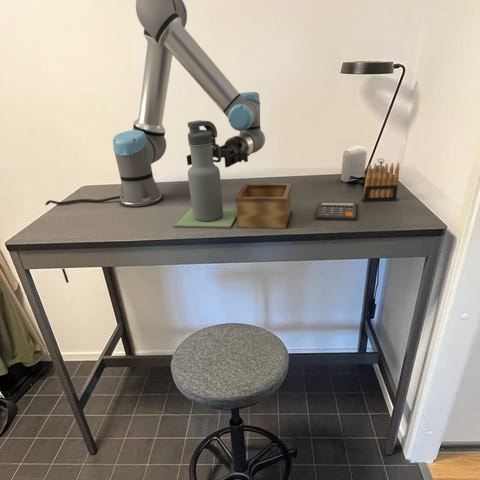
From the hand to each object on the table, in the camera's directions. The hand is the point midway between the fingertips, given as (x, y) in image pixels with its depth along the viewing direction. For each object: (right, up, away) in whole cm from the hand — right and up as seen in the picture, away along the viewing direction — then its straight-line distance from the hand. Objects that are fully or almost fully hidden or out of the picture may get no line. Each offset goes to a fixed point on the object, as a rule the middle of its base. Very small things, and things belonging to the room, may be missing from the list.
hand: (206, 161), depth 121 cm
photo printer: (+55, +7, +36) cm, 66 cm away
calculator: (+41, -14, +6) cm, 44 cm away
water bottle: (0, -15, +8) cm, 17 cm away
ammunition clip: (+58, -8, +13) cm, 59 cm away
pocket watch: (+63, +2, +27) cm, 69 cm away
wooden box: (+18, -17, +4) cm, 25 cm away
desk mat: (0, -15, +8) cm, 17 cm away
